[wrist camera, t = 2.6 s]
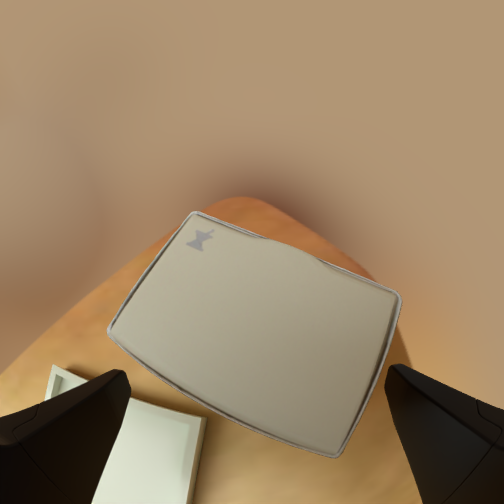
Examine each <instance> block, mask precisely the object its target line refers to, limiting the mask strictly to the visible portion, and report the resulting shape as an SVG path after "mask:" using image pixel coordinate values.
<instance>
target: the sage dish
mask: <svg viewBox="0 0 504 504" xmlns="http://www.w3.org/2000/svg"><path fill="white" fill-rule="evenodd" d="M88 381H90V380H88V379H85V378H83V377H81V376H79V375H77V374H74V373H72V372H70V371H68V370H66V369H64V368H61V367H59V366H56V365H54V364H53V366H52V370H51V374H50V378H49V382H48V386H47V391H46V396H45V400H44V401H46V400H48V399H50V398H52V397H55V396H57V395H59V394H61V393H64V392H66V391H68V390H70V389H72V388H75V387H77V386H79V385H81V384H83V383H85V382H88ZM206 423H207V418H206V417H201V416H197V415H193V414H188V413H184V412H180V411H177V410H173V409H169V408H166V407H162V406H159V405H156V404H152V403H149V402H146V401H143V400H140V399H137V398H134V397H131V396H130V399H129V403H128V406H127V409H126V413H125V416H124V420H123V423H122V426H121V429H120V431H119V434H118V436H117V439H116V441H115V444H114V446H113V448H112V451H111V453H110V456H109V458H108V461H107V463H106V466H105V469H104V471H103V474H102V476H101V479H100V482H99V484H98V487H97V490H96V492H95V495H94V498H93V501H92V503H91V504H192V500H193V494H194V489H195V483H196V477H197V472H198V466H199V461H200V455H201V450H202V444H203V439H204V434H205V428H206Z"/></svg>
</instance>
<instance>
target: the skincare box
mask: <svg viewBox="0 0 504 504" xmlns="http://www.w3.org/2000/svg"><path fill="white" fill-rule="evenodd" d="M401 305H402V298H401V296H400V295H399V293H398V292H397V291H395V290H393V289H391V288H388V287H386V286H383V285H381V284H378V283H376V282H374V281H371V280H369V279H367V278H364V277H362V276H359V275H357V274H355V273H352V272H350V271H348V270H346V269H343V268H341V267H338V266H335V265H333V264H331V263H328V262H326V261H324V260H322V259H319V258H317V257H315V256H312V255H310V254H308V253H306V252H304V251H302V250H300V249H297V248H295V247H292V246H290V245H287V244H284V243H281V242H278V241H275V240H272V239H269V238H266V237H263V236H261V235H258V234H255V233H253V232H250V231H248V230H245V229H243V228H240V227H237V226H234V225H232V224H229V223H227V222H224V221H222V220H219V219H217V218H214V217H211V216H208V215H206V214H204V213H202V212H198V211H194V212H191V214H190V215H189V216H188V217H187V218H186V219H185V221H184V222H183V223H182V225H181V226H180V227H179V229H178V230H177V231H176V232H175V233H174V234H173V235H172V237H171V238H170V239H169V241H168V242H167V243H166V244H165V246H164V247H163V248H162V249H161V251H160V252H159V253H158V255H157V256H156V257H155V259H154V260H153V261H152V263H151V264H150V265H149V267H148V268H147V269H146V270H145V272H144V273H143V274H142V276H141V277H140V279H139V280H138V281H137V283H136V284H135V286H134V287H133V289H132V290H131V291H130V293H129V294H128V296H127V298H126V299H125V300H124V302H123V303H122V305H121V307H120V309H119V311H118V312H117V314H116V315H115V317H114V319H113V320H112V321H111V323H110V324H109V326H108V328H107V335H108V336H109V337H110V339H111V340H113V341H114V342H115V343H116V344H117V345H118V346H119V347H120V348H121V349H122V350H124V351H125V352H126V353H127V354H128V355H130V356H131V357H132V358H133V359H134V360H136V361H137V362H138V363H139V364H141V365H142V366H143V367H144V368H146V369H147V370H148V371H150V372H151V373H152V374H154V375H155V376H157V377H158V378H159V379H161V380H162V381H164V382H165V383H167V384H168V385H170V386H171V387H173V388H174V389H176V390H177V391H179V392H181V393H182V394H184V395H186V396H187V397H189V398H191V399H192V400H194V401H195V402H197V403H199V404H201V405H203V406H205V407H206V408H208V409H210V410H212V411H214V412H216V413H217V414H219V415H221V416H223V417H225V418H227V419H229V420H231V421H233V422H235V423H237V424H239V425H241V426H244V427H246V428H248V429H250V430H253V431H255V432H257V433H260V434H262V435H264V436H267V437H269V438H272V439H275V440H277V441H280V442H283V443H285V444H288V445H291V446H293V447H296V448H300V449H303V450H306V451H309V452H312V453H315V454H319V455H322V456H326V457H329V458H338V457H339V456H340V455H341V454H342V453H343V451H344V449H345V447H346V445H347V443H348V441H349V439H350V437H351V435H352V433H353V431H354V430H355V428H356V426H357V424H358V423H359V421H360V419H361V417H362V414H363V412H364V410H365V408H366V406H367V404H368V402H369V399H370V397H371V395H372V393H373V390H374V388H375V386H376V384H377V381H378V378H379V376H380V373H381V370H382V367H383V365H384V362H385V359H386V357H387V354H388V351H389V348H390V346H391V342H392V339H393V336H394V332H395V329H396V325H397V322H398V318H399V314H400V310H401Z"/></svg>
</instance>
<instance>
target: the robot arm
mask: <svg viewBox="0 0 504 504" xmlns="http://www.w3.org/2000/svg"><path fill="white" fill-rule="evenodd" d="M384 388H385V393H386V396H387V400H388V403H389V407H390V411H391V414H392V418H393V422H394V425H395V428H396V430H397V433H398V435H399V438H400V440H401V443H402V446H403V448H404V451H405V453H406V456H407V459H408V462H409V464H410V467H411V470H412V473H413V475H414V478H415V481H416V484H417V487H418V490H419V493H420V496H421V499H422V502H423V504H504V410H503V409H500V408H497V407H494V406H492V405H490V404H487V403H484V402H482V401H480V400H478V399H477V400H476V399H475V398H473V397H471V396H469V395H467V394H464V393H462V392H460V391H458V390H456V389H454V388H451V387H449V386H447V385H445V384H443V383H441V382H439V381H437V380H434V379H432V378H430V377H428V376H426V375H424V374H422V373H420V372H418V371H416V370H413V369H411V368H409V367H407V366H405V365H403V364H394V365H391V366H390V367H389V369H388V373H387V377H386V381H385V386H384ZM130 396H131V387H130V384H129V381H128V378H127V375H126V373H125V371H123V370H118V369H113V370H111V371H109V372H106V373H104V374H102V375H100V376H98V377H96V378H94V379H92V380H90V381H88V382H85V383H83V384H81V385H79V386H77V387H75V388H72V389H70V390H68V391H66V392H64V393H61V394H59V395H57V396H55V397H52V398H50V399H48V400H46V401H43V402H41V403H40V404H36V405H34V406H32V407H29V408H27V409H24V410H21V411H19V412H16V413H13V414H10V415H6V416H3V417H0V504H91V503H92V501H93V498H94V495H95V492H96V490H97V487H98V484H99V482H100V479H101V476H102V474H103V471H104V469H105V466H106V463H107V461H108V458H109V456H110V453H111V451H112V448H113V446H114V444H115V441H116V439H117V436H118V434H119V431H120V429H121V426H122V423H123V420H124V416H125V413H126V409H127V406H128V403H129V399H130Z"/></svg>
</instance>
